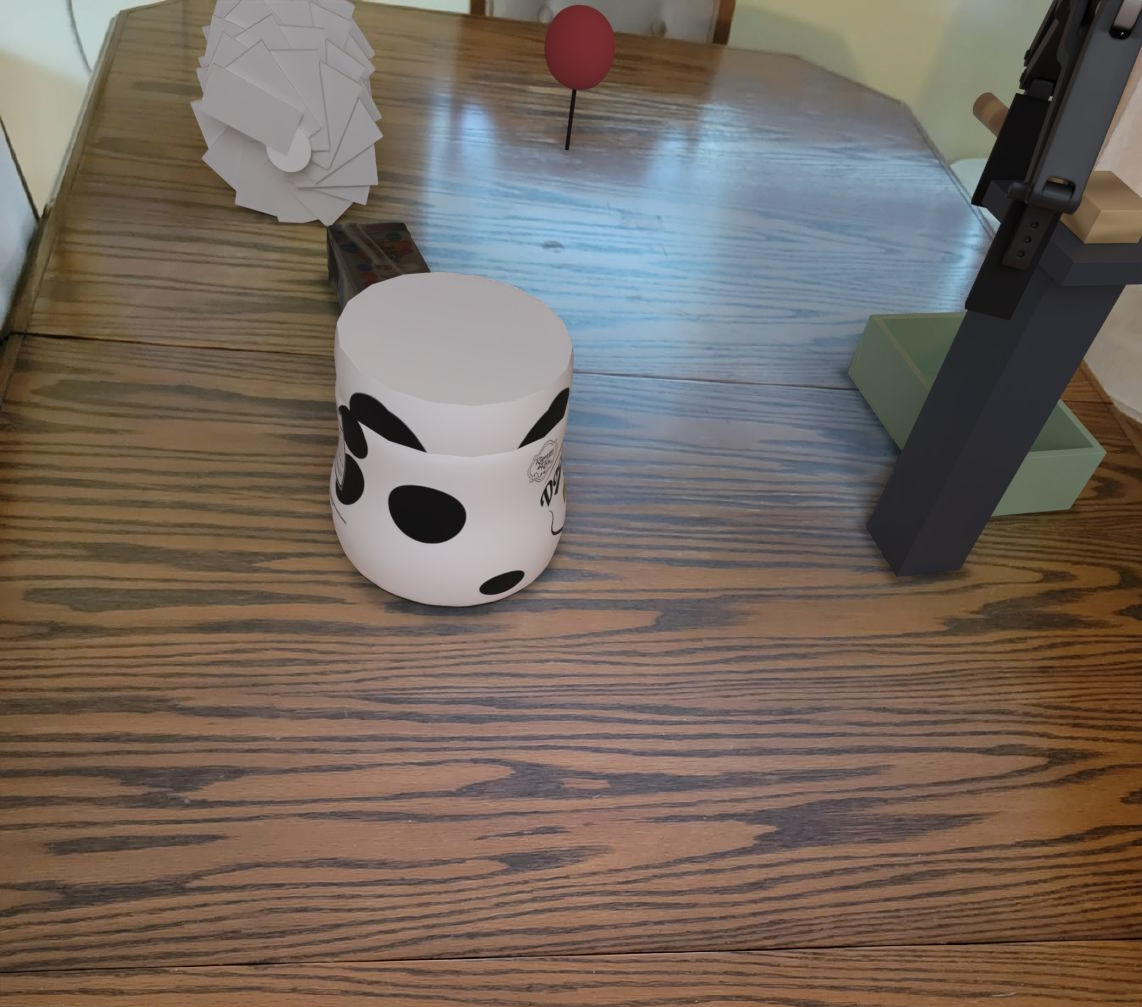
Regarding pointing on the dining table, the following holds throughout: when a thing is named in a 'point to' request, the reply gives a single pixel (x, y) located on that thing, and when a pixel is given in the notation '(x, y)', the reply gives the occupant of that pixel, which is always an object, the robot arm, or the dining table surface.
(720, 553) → the dining table surface
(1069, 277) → the dark capped post
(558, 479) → the milk container
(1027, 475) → the bin
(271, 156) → the spiral staircase
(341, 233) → the beverage carton
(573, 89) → the lollipop
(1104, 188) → the wooden mallet
